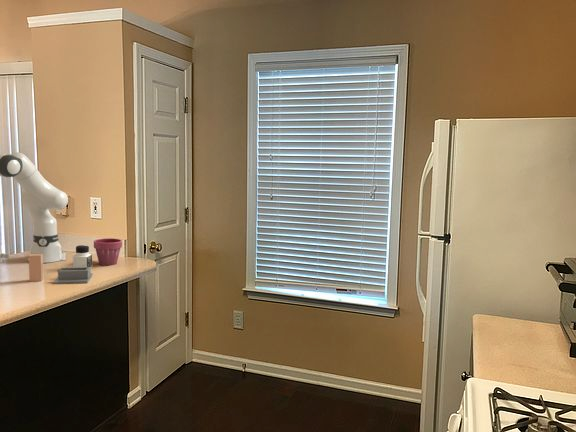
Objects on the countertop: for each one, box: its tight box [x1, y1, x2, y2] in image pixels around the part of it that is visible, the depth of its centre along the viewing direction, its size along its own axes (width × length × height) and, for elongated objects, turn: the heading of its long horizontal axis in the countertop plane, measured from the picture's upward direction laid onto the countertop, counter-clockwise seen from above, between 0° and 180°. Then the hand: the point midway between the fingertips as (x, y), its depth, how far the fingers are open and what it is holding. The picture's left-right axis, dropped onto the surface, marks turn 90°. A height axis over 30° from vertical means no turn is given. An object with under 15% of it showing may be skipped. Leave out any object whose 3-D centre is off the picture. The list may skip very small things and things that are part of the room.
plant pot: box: [93, 237, 123, 266], centre depth 246 cm, size 14×14×13 cm
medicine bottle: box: [72, 244, 93, 268], centre depth 234 cm, size 7×7×12 cm
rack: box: [53, 266, 93, 285], centre depth 214 cm, size 14×14×5 cm
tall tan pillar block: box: [28, 254, 44, 282], centre depth 210 cm, size 3×5×12 cm, turn 104°
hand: (5, 258), depth 206 cm, fingers open, 8 cm apart
